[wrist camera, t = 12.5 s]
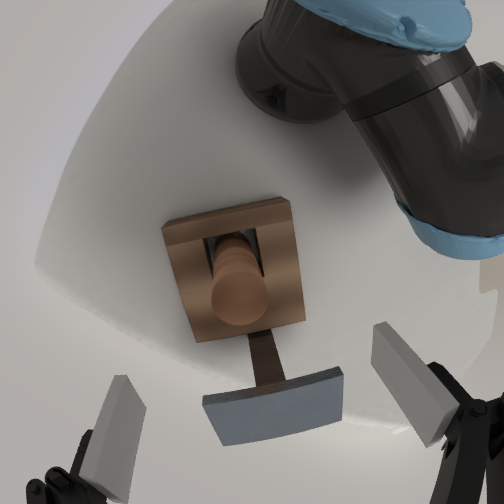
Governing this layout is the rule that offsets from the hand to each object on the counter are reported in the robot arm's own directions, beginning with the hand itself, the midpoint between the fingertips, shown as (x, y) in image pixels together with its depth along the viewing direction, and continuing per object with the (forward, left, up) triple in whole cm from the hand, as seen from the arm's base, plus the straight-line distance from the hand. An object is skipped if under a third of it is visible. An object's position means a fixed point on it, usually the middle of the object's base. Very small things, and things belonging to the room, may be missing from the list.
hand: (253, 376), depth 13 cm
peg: (0, 0, -23) cm, 23 cm away
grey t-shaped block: (+11, +1, -23) cm, 25 cm away
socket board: (+2, 0, -23) cm, 23 cm away
